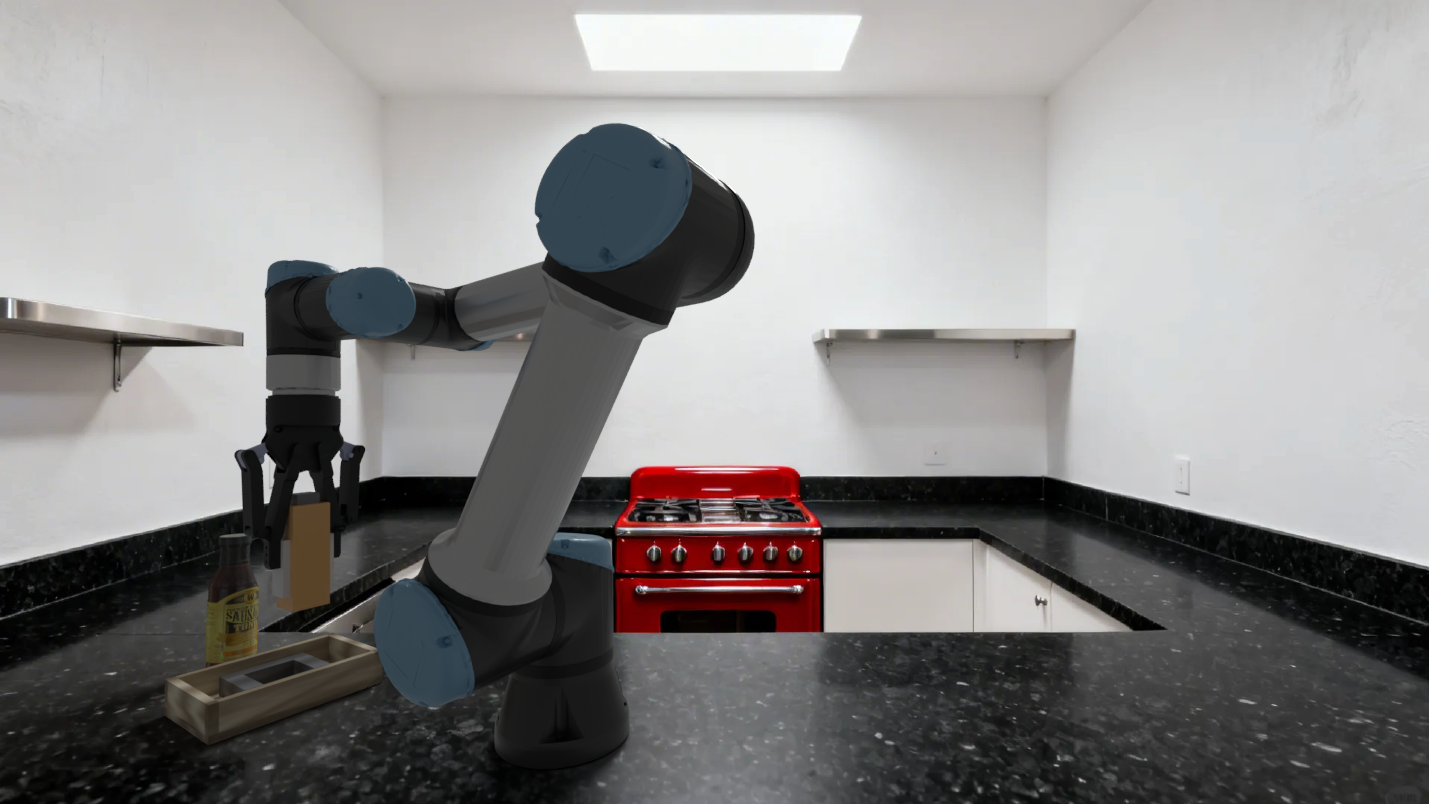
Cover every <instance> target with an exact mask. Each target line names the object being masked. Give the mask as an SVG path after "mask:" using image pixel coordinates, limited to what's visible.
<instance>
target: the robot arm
mask: <svg viewBox="0 0 1429 804" xmlns="http://www.w3.org/2000/svg"><path fill="white" fill-rule="evenodd" d="M534 200H535V201H534V215H535V216H536V217H537V218H538V220H539V221H537V223H535V227H536V231H537V235H538V238H539V240H540V242H541V244H542V245H543V247H544V248H545V250H546V251H547V252H546V255H545V258H544V260H543V261H538V262H535V263H533V264H528V265H525V266H523V267H520V268H515V269H512V270H508V271H506V272H503V273H499V274H495V275H493V276H489V277H486V278H482V279H480V280H476V281H473V282H470V283H466V284H463V285H459V286H455V287H451V288H442V287H437V286H433V285H432V286H431V285H427V284H422V283H416V282H412V281H407V280H406V279H405V278H403V277H402V276H401V275H400V274H399V273H397V272H396V271H395V270H392V269H390V268H387V267H381V266H380V267H379V266H371V267H367V266H357V267H356V268H349V269H348V270H344V271H341V272H340V271H339V269H337V268H336V267H334V266H332V265H329V264H326V263H323V262H318V261H312V260H301V259H293V260H288V259H287V260H286V259H284V260H277V261H275V262H272V263H271V264H270V265H269V267H268V268H267V275H266V287H265V289H264V299H265V349H266V351H265V352H266V356H265V389H266V390H267V391H271V393H272V394H271V395H268V396H267V398H265V434H264V435H263V437H262V439H261V441H260V444H257V445H253V446H252V447H249V448H247V449H237V450H236V451H235V452H234V455H233V456H234V459H235V461H236V462H237V465H238V467H239V469H240V471H241V472H240V477H241V497H242V498H241V500H242V501H241V502H242V505H241V506H242V524H243V525H242V526H243V527H242V528H243V533H244V534H245V535H246V536H250V537H252V538H256V539H260V540H261V541H262V542H263V566H264V568H265V569H267V570H270V571H272V572H271V573H272V574H271V575H272V576H271V577H272V578H271V579H272V580H271V583H272V584H271V588H272V589H271V590H272V591H271V594H272V595H271V596H273V597H276V598H277V597H279V598H288V597H290V540H288V539H283V538H282V537H283V534H284V530H285V525H286V521H287V516H288V512H289V508H290V503H291V499H292V494H293V493H294V490H295V485H296V482H297V481H298V480H299V477H300V473H303V472H308V475H309V477H310V478H311V479H312V484H313V488H314V492H318V493H320V501H323V502H330V589H332V588H333V589H334V587H335V586H334V585H335V574H334V573H335V564H334V563H335V559H336V558H340V556H341V553H342V545H341V544H342V533H344V531H345V530H346V529H347V527H348V526H350V525H355V524H356V523H357V522H358V520H359V504H360V503H359V499H360V478H361V477H360V476H361V475H360V474H361V463H362V461H363V458H364V455H365V453H366V447H365V446H364V445H362V444H353V443H351V442H347V441H345V439H344V436H343V434H342V432H341V429H340V428H341V422H342V421H341V420H342V415H341V413H342V408H341V407H342V400H341V399H342V398H340V396H339V395H336V392H339V391H340V390H342V366H341V365H342V362H341V361H342V353H341V351H342V349H341V347H342V341H350V340H366V341H377V342H383V343H385V342H386V343H394V344H395V343H396V344H402V345H403V344H405V345H413V346H414V345H415V346H422V347H423V346H424V347H431V348H432V347H433V348H440V349H449V350H454V351H458V352H472V351H473V352H481V351H485V350H487V349H489V348H491V346H493V344H494V343H495V342H497V340H498V339H502V338H507V337H511V336H516V335H520V334H524V333H528V332H533V331H535V333H534V335H533V338H532V341H531V343H530V345H529V348H528V349H527V351H526V355H525V357H524V360H523V362H522V365H521V367H520V369H519V372H518V375H517V377H516V380H515V382H514V385H513V387H512V390H511V392H510V394H509V397H508V398H507V402H506V404H505V406H504V409H503V411H502V414H501V416H500V418H499V421H498V423H497V425H496V426H497V427H496V429H495V431H494V434H493V436H492V439H491V440H490V443H489V446H488V448H487V451H486V453H485V456H484V458H483V460H482V462H481V463H482V464H481V465H480V468H479V471H478V473H477V476H476V478H475V480H474V482H473V485H472V488H471V490H470V492H469V495H468V496H467V497H468V498H467V500H466V502H465V505H464V507H463V510H462V512H461V515H460V517H459V520H458V522H457V525H456V527H454V528H450V529H446V530H445V531H443V532H441V533H439V534H438V535H437V536H436V537H435V538H434V539H433V540H432V541H431V543H430V545H429V548H428V550H427V553H426V556H425V558H424V560H423V562H422V565H421V567H420V570H419V572H418V574H417V575H415V576H414V577H412V578H408V577H406V578H402V579H399V580H398V581H397V582H395V583H393V584H390V585H389V586H388V587H386V589H384V590H383V592H382V593H381V594H380V596H379V597H378V600H377V602H376V606H375V609H374V616H373V634H374V635H373V636H374V642H375V646H376V647H375V648H377V650H378V653H379V658H380V661H381V663H382V669H383V670H384V672H385V674H386V676H387V678H388V679H389V681H390V682H391V684H392V685H393V687H394V688H395V689H396V690H397V692H398V693H400V694H401V696H403V697H404V698H405V700H408V701H409V702H410V703H413V704H415V705H417V706H419V707H422V708H423V707H424V708H438V707H441V706H443V705H446V704H448V703H451V702H453V701H456V700H463V699H466V698H468V697H470V696H471V694H473V693H476V692H478V691H479V690H481V689H483V688H485V687H487V686H489V685H492V684H493V683H495V682H497V681H499V680H501V679H502V678H505V677H507V676H509V677H508V681H507V684H506V688H505V691H504V696H503V699H502V703H501V707H500V711H499V712H498V714H497V717H496V719H495V723H494V750H495V752H496V754H497V755H498V757H500V758H501V759H502V760H503V761H505V762H507V763H510V764H511V765H514V766H518V767H521V768H526V769H535V770H536V769H537V770H552V769H562V768H569V767H574V766H579V765H583V764H587V763H589V762H592V761H594V760H597V759H600V758H601V757H604V756H605V755H607V754H609V753H610V752H612V751H614V750H616V749H617V748H618V747H619V746H620V745H622V744H623V742H625V740H626V739H627V737H628V735H629V732H630V728H631V727H630V707H629V703H628V701H627V699H626V697H625V696H624V691H623V687H622V684H621V683H622V682H621V680H620V678H619V674H618V671H617V669H616V665H615V660H614V659H615V657H614V573H615V566H614V565H613V555H612V553H613V552H612V546H611V544H610V542H609V541H608V540H607V539H606V538H604V537H602V536H600V535H596V534H587V533H576V532H575V533H574V532H558V530H559V528H560V526H561V523H562V521H563V520H564V517H565V514H566V512H567V510H568V508H569V505H570V503H571V501H572V498H573V497H574V494H575V493H576V490H577V489H578V486H579V483H580V480H581V479H582V476H583V474H584V472H585V470H586V468H587V466H588V463H589V461H590V459H591V456H592V455H593V452H594V450H595V447H596V446H597V443H598V441H599V439H600V437H601V434H602V432H603V429H604V427H605V425H606V423H607V420H608V419H609V416H610V414H611V412H612V409H613V408H614V405H615V403H616V400H617V399H618V396H619V394H620V391H621V390H622V386H623V385H624V382H625V380H626V378H627V376H628V374H629V372H630V370H631V367H632V364H633V363H634V360H635V358H636V356H637V354H638V351H639V349H640V347H641V345H642V342H643V340H644V339H645V338H646V337H648V336H649V335H652V334H655V333H657V332H660V331H663V330H666V329H667V328H668V327H669V325H670V323H671V321H672V318H673V316H674V314H675V312H676V310H677V308H683V307H688V306H693V305H699V304H703V303H707V302H711V301H713V300H714V301H715V299H718V298H721V297H722V296H725V295H726V294H727V293H729V292H731V290H733V289H734V288H735V287H736V286H737V284H738V283H740V281H741V280H742V279H743V278H744V277H745V274H746V273H747V271H748V269H749V267H750V265H751V262H752V259H753V256H754V251H755V245H756V243H755V242H756V241H755V239H756V235H755V226H754V221H753V218H752V216H751V213H750V211H749V208H748V206H747V205H746V204H745V202H744V200H743V199H742V197H741V196H740V195H739V194H738V193H737V191H735V190H734V189H733V188H732V187H731V186H730V185H728V184H726V182H724V181H723V180H721V179H718V178H717V177H715V176H714V175H713V174H712V173H710V171H708V170H707V169H705V168H704V167H703V166H701V164H699V163H697V161H695V160H694V159H692V158H691V157H690V156H688V155H687V154H686V153H684V152H683V151H682V149H680V148H679V147H678V145H675V144H673V143H671V142H669V141H667V140H666V139H665V138H661V137H660V136H657V135H656V134H654V133H652V132H650V131H648V130H647V129H644V128H642V127H640V126H637V125H635V124H630V123H624V122H609V123H604V124H603V123H602V124H599V125H596V126H594V127H592V128H591V129H589V130H588V132H586V133H579V134H578V135H576V136H574V137H573V138H572V139H571V140H569V141H568V142H566V144H564V145H563V146H562V148H560V150H559V151H558V152H557V153H556V154H555V156H554V157H553V158H552V159H551V161H550V163H549V164H548V166H547V167H546V169H545V171H544V173H543V175H542V176H541V179H540V182H539V184H538V188H537V192H536V196H535V199H534ZM338 453H339V457H340V459H341V460H340V464H339V465H340V467H339V487H338V488H339V490H338V491H339V492H338V495H337V492H336V487H335V482H334V474H335V473H334V469H333V464H332V461H333V459H334V458H335V457H336V455H337V454H338ZM265 455H267V456H268V457H269V458H270V460H271V461H272V462H273V463H274V464H275V468H274V471H273V480H274V481H273V484H272V487H271V488H272V489H271V492H270V497H269V502H268V507H267V510H266V512H265V492H264V491H265V489H264V488H265V487H264V485H265V483H264V470H263V466H262V465H263V464H264V462H265V460H266V459H265V457H266V456H265ZM265 513H266V514H265Z"/></svg>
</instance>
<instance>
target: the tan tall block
mask: <svg viewBox="0 0 1429 804" xmlns="http://www.w3.org/2000/svg"><path fill="white" fill-rule="evenodd" d="M282 538H283V539H288V540H290V597H288V598H279V597H276V608H278V609H282V610H285V611H287V612H291V613H296V612H299V611H304V610H309V609H313V608H316V607H321V606H325V605H328V604H331V588H330V502H323V501H320V493H318V492H315V491H305V492H302V491H301V492H293V494H292V499H291V503H290V508H289V512H288V516H287V521H286V525H285V530H284V534H283V537H282Z"/></svg>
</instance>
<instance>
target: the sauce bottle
mask: <svg viewBox="0 0 1429 804" xmlns="http://www.w3.org/2000/svg"><path fill="white" fill-rule="evenodd" d="M252 542H253V537H250V536H246V535H245V534H244V532H243V533H242V532H241V533H231V534H224V535H220V536H219V537H218V543H217V544H218V547H219V561H218V568H217V570H216V572H214V573H213V575H212V577H211V578H210V580H209V583H208V588H207V589H208V595H207V600H206V623H205V625H206V626H205V644H204V661H205V666H204V667H205V668H207V667H211V666H215V665H218V664H222V663H225V662H229V661H233V660H236V659H240V658H243V657H247V656H251V655H254V654H258V653H257V652H258V633H259V632H258V631H259V630H258V629H259V602H260V601H259V599H260V586H259V584H258V581H257V580H256V579H257V578H256V575H255V573H254V571H253V570H254V569H253V566H252V564H251V544H252Z"/></svg>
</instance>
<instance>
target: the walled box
mask: <svg viewBox="0 0 1429 804" xmlns="http://www.w3.org/2000/svg"><path fill="white" fill-rule="evenodd" d="M381 682H382V683H383V666H382V663H381V661H380V658H379V653H378V650H377V647H374V646H371V645H369V644H366V643H364V642H360V641H357V640H355V639H352V638H348V637H346V636H342V635H340V634H337V633H334V632H330V633H327V634H323V635H320V636H319V635H318V636H316V637H312V638H309V639H305V640H302V641H298V642H293V643H290V644H288V645H283V646H280V647H276V648H272V649H270V650H266V651H262V652H258V653H256V654H254V655H251V656H247V657H243V658H240V659H236V660H233V661H229V662H225V663H222V664H218V665H215V666H211V667H207V668H200V669H197V670H194V671H191V672H187V673H183V674H180V675H176V676H172V677H169V678H164V716H165V717H166V718H168V719H169V720H171V721H172V722H174V723H175V724H176V725H178V726H180V727H181V728H182V729H184V730H185V731H186V732H188V733H190V734H191V735H193V737H195V738H197V739H198V740H200V741H201V742H203V743H205V745H207V746H211V745H213V744H217V743H218V742H221V741H224V740H227V739H230V738H233V737H235V736H238V735H241V734H243V733H246V732H249V731H252V730H255V729H258V728H260V727H263V726H265V725H269V724H272V723H275V722H277V721H280V720H282V719H285V718H288V717H290V716H294V715H297V714H300V713H302V712H304V711H307V710H310V709H312V708H315V707H318V706H322V705H324V704H326V703H329V702H332V701H335V700H338V699H340V698H342V697H346V696H348V695H351V694H353V693H357V692H360V691H363V690H365V689H367V687H368V688H370V687H372V686H373V685H374V686H376V685H379V684H382V683H381ZM375 684H376V685H375Z"/></svg>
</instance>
